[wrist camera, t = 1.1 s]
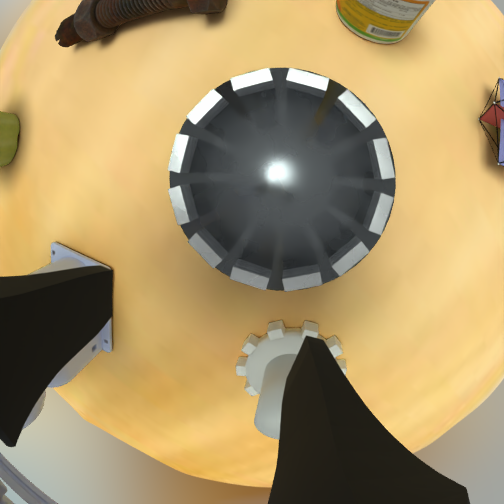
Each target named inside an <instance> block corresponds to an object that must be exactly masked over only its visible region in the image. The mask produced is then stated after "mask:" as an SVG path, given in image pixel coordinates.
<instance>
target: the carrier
mask: <svg viewBox="0 0 504 504" xmlns="http://www.w3.org/2000/svg"><path fill="white" fill-rule="evenodd" d="M230 79H231V80H229V81H227V82H225V83H223V84H222V85H220V86H219V87H217V88H216V89H212V90H211V91H210V92H209V93H208V94H207V95H206V96H205V97H204V98H203V99H202V100H201V101H200V102H199V103H198V104H197V105H196V106H195V107H194V109H193V110H192V111H191V112H190V113H189V114H188V115H187V116H186V117H187V119H186V121H185V122H184V124H183V126H182V128H181V130H180V132H179V134H176V138H175V142H174V146H173V150H172V154H171V158H170V162H169V166H168V170H169V171H170V189H168V191H169V195H170V199H171V202H172V206H173V210H174V213H175V217H176V220H177V224H178V225H181V227H182V229H183V231H184V233H185V235H186V236H187V238H188V239H189V241H188V243H189V244H190V245H191V246H192V247H193V248H194V249H195V250H196V251H197V252H198V253H199V254H200V255H201V256H202V257H203V259H204V260H205V261H206V262H207V263H208V264H209V265H210V266H211V267H212V268H217V269H218V270H220V271H221V272H222V273H224V274H226V275H228V276H229V277H230V279H232V280H235V281H238V282H241V283H244V284H247V285H250V286H253V287H256V288H259V289H262V290H266V289H269V290H285V292H287V291H293V290H300V289H307V288H311V287H314V286H319V285H322V284H324V283H326V282H329V281H331V280H334V279H335V278H337V277H339V276H341V275H343V274H344V273H346V272H347V271H349V270H350V269H351V268H353V267H354V266H356V265H357V264H358V263H359V262H360V261H361V260H362V259H363V258H364V257H365V256H366V255H367V254H368V253H369V252H370V250H371V249H372V248H373V247H374V245H375V244H376V243H377V241H378V240H379V238H380V236H381V234H382V233H383V231H384V229H385V227H386V224H387V222H388V220H389V217H390V214H391V210H392V206H393V203H394V196H395V187H396V184H395V166H394V160H393V155H392V152H391V148H390V145H389V142H388V140H387V137H386V135H385V133H384V131H383V129H382V127H381V125H380V124H379V122H378V120H377V119H376V117H375V116H374V114H373V113H372V112H371V111H370V110H369V108H368V107H367V106H366V105H365V104H364V103H363V102H362V101H361V100H360V99H359V98H358V97H357V96H356V95H355V94H353V93H352V92H351V91H349V90H348V89H346V88H345V87H344V86H342V85H341V84H339V83H337V82H335V81H333V80H331V79H329V78H327V77H325V76H322V75H319V74H316V73H313V72H310V71H305V70H300V69H293V68H266V69H262V70H257V71H252V72H249V73H246V74H243V75H240V76H237V77H233V78H230Z"/></svg>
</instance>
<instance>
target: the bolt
mask: <svg viewBox="0 0 504 504" xmlns="http://www.w3.org/2000/svg"><path fill="white" fill-rule="evenodd" d="M227 1H228V0H83V1H82V2H81V3H80V5H79V6H78V8H77V10H76V12H75V14H73V15H71V16H70V17H68V18H66V19H64V20H63V21H62V22H61V24H60V26H59V28H58V30H57V31H56V35H55V39H56V41H58V40H59V39H60V41H59V43H58V44H59V45H60V46H62V47H69V46H72V45H74V44H76V43H78V42H80V41H82V40H85V41H87V42H89V41H94V40H98V39H101V38H104V37H107V36H109V35H112V34H114V33H115V32H116V30H117V29H118V27H119V25H120V24H123V23H125V22H128V21H131V20H134V19H137V18H140V17H144V16H147V15H151V14H153V13H158V12H161V11H165V10H169V9H173V8H183V7H187V6H189V8H190V11H191V13H198V14H211V13H219V12H222V11H223V10H224V8H225V7H226V5H227Z"/></svg>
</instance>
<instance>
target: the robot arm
mask: <svg viewBox="0 0 504 504" xmlns="http://www.w3.org/2000/svg"><path fill="white" fill-rule="evenodd" d="M112 278H113V270H111V269H110V267H108V266H106V265H104V264H102V263H99V262H97V261H95V260H93V259H91V258H88V257H86V256H84V255H82V254H80V253H78V252H76V251H73V250H71V249H69V248H67V247H65V246H63V245H61V244H59V243H57V242H53V243H52V244H51V264H49V265H46V266H44V267H42V268H40V269H38V270H36V271H34V272H32V273H30V274H28V275H24V276H8V277H0V439H1V440H2V441H3V442H4V443H5V445H6V446H8V447H14V446H16V443H17V440H18V438H19V435H20V433H21V431H22V429H24V428H26V427H27V426H28V425H30V424H31V423H32V422H33V421H34V420H35V419H36V418H37V416H38V415H39V414H40V412H41V410H42V408H43V406H44V401H45V396H46V392H45V389H46V388H47V387H51V388H52V387H59V386H62V385H65V384H67V383H68V382H70V381H71V380H72V379H73V378H74V377H75V376H76V375H77V374H78V373H79V372H80V371H81V370H82V369H83V368H84V367H85V366H86V365H87V364H88V363H89V362H90V361H91V360H92V359H93V358H94V357H95V356H96V355H97V354H98V353H99V352H100V351H101V350H104V351H106V352H108V353H110V352H111V351H112V329H111V317H112ZM0 477H1V478H2V479H3V480H4V481H5V482H6V483H7V484H8V485H9V486H10V487H11V488H12V489H13V490H14V491H15V492H16V493H17V494H18V495H19V496H20V497H21V498H22V499H24V500H25V501H26V502H27V503H28V504H58V503H56V502H55V501H54V500H52V499H51V498H50V497H48V496H47V495H46V494H45V493H43V492H42V491H41V490H40V489H38V488H37V487H36V486H35V485H34V484H32V483H31V482H30V481H29V480H28V479H27V478H25V477H24V476H23V475H22V474H21V473H20V472H19V471H18V470H17V469H16V468H15V467H14V466H13V465H12V464H10V462H9V461H8V460H7V459H6V458H5V457H4V456H3V455H2V454H1V453H0ZM6 492H7V488H6V486H5V485H4V484H3V483H2V482H1V480H0V504H14V503H13V502H12V501H11V500H10V499H9V498H7V497H6V496H5V495H4V494H5V493H6ZM268 504H470V502H469V497H468V493H467V489H466V487H464V486H462V485H460V484H458V483H456V482H455V481H453V480H451V479H449V478H447V477H445V476H443V475H442V474H440V473H438V472H437V471H435V470H434V469H432V468H431V467H430V466H428V465H426V464H425V463H424V462H423V461H421V460H420V459H419V458H417V457H416V456H415V455H414V454H412V453H411V452H410V451H409V450H408V449H406V448H405V447H404V446H403V445H402V444H401V443H400V442H399V441H398V440H397V439H396V438H394V437H393V436H392V435H391V434H390V432H389V431H388V430H387V429H386V428H385V427H384V426H383V425H382V424H381V423H380V422H379V420H378V419H377V418H376V417H375V416H374V415H373V414H372V412H371V411H370V410H369V409H368V407H367V406H366V405H365V403H364V402H363V401H362V399H361V398H360V397H359V395H358V394H357V393H356V391H355V390H354V388H353V387H352V385H351V384H350V382H349V381H348V379H347V378H346V376H345V374H344V373H343V371H342V370H341V368H340V366H339V365H338V363H337V361H336V360H335V358H334V356H333V355H332V353H331V351H330V350H329V348H328V346H327V345H326V343H325V342H324V340H323V339H319V338H315V337H311V336H307V335H306V336H305V339H304V341H303V343H302V346H301V348H300V350H299V352H298V354H297V357H296V359H295V361H294V363H293V365H292V367H291V370H290V372H289V374H288V376H287V378H286V383H285V388H284V393H283V399H282V406H281V421H280V436H279V449H278V459H277V466H276V471H275V476H274V480H273V485H272V489H271V493H270V497H269V501H268Z"/></svg>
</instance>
